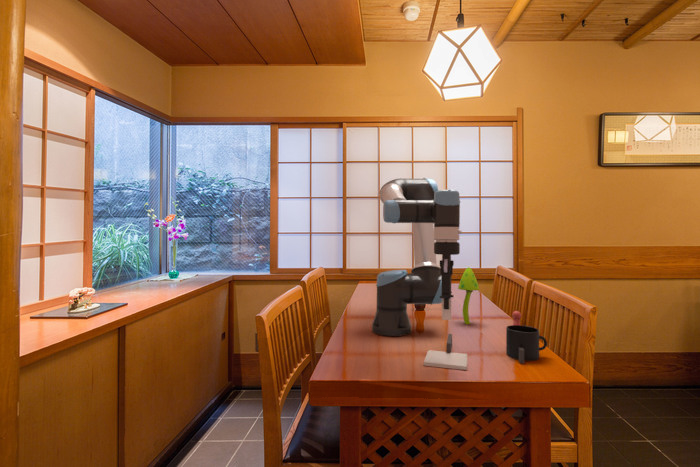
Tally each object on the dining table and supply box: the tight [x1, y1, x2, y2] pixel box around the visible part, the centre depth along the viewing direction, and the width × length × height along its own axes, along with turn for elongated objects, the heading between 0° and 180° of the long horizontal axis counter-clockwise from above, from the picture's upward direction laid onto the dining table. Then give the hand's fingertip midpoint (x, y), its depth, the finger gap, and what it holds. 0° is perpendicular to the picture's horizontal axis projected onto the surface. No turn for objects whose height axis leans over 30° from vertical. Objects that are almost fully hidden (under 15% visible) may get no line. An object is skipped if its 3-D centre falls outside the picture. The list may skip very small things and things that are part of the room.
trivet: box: [423, 349, 468, 371], centre depth 113 cm, size 12×12×1 cm
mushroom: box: [457, 266, 480, 325], centre depth 155 cm, size 8×8×25 cm
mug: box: [505, 324, 548, 362], centre depth 118 cm, size 9×12×9 cm
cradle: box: [446, 310, 525, 365], centre depth 121 cm, size 23×15×13 cm, turn 72°
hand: (446, 319), depth 113 cm, fingers closed
